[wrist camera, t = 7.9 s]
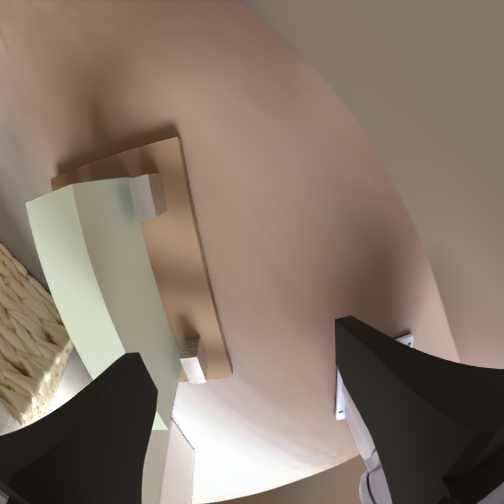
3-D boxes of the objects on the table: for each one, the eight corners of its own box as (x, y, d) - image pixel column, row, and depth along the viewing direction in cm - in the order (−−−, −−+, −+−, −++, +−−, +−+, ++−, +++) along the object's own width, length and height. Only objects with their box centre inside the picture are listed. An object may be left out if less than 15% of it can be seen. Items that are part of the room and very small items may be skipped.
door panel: (182, 361, 20) (168, 430, 13) (148, 363, 20) (125, 428, 13) (130, 176, 16) (71, 184, 9) (91, 188, 16) (25, 203, 9)
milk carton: (116, 418, 23) (75, 558, 5) (172, 417, 23) (151, 583, 5) (144, 451, 25) (122, 573, 7) (195, 451, 25) (189, 587, 7)
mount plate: (232, 367, 22) (232, 376, 20) (127, 376, 21) (123, 384, 20) (181, 138, 16) (177, 136, 15) (59, 177, 16) (50, 178, 15)
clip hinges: (208, 360, 20) (206, 382, 17) (128, 367, 20) (120, 386, 17) (159, 173, 16) (147, 174, 13) (70, 199, 16) (50, 205, 13)
